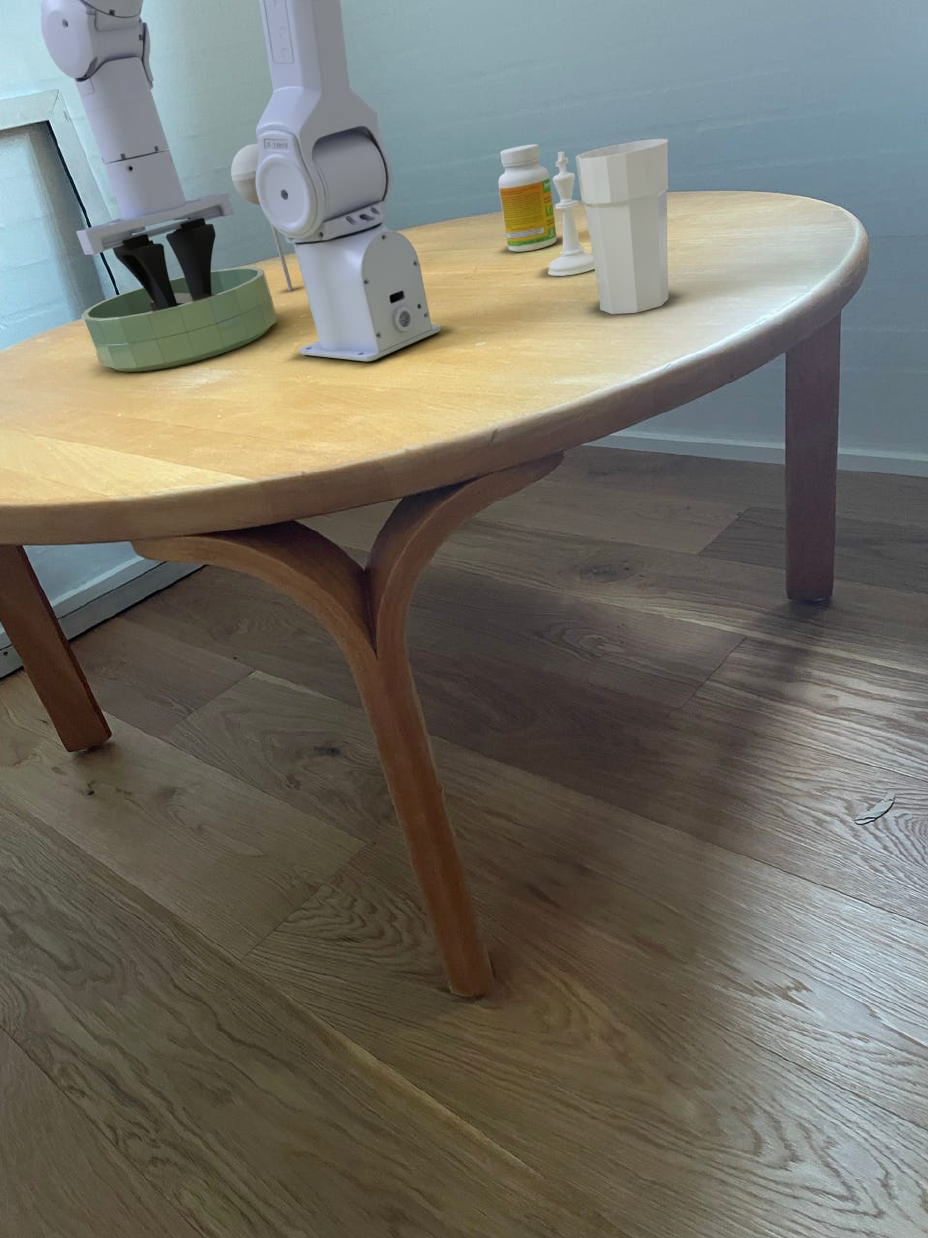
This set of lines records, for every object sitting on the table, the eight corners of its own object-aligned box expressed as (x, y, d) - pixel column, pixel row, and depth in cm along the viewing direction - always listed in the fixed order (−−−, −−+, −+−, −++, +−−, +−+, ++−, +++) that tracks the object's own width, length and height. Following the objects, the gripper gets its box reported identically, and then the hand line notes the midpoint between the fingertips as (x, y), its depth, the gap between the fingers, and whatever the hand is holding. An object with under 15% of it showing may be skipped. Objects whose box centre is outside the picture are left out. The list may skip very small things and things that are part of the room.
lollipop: (305, 293, 100) (265, 142, 93) (257, 300, 102) (213, 152, 94) (323, 279, 105) (287, 135, 98) (277, 286, 107) (237, 145, 99)
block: (229, 326, 85) (219, 293, 83) (202, 336, 83) (191, 303, 82) (186, 323, 90) (175, 292, 89) (160, 332, 89) (148, 301, 87)
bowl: (312, 320, 88) (298, 266, 85) (156, 381, 78) (135, 323, 76) (219, 314, 99) (204, 266, 96) (73, 367, 90) (52, 315, 87)
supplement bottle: (559, 245, 97) (546, 144, 92) (508, 255, 97) (493, 155, 92) (555, 237, 101) (543, 140, 96) (507, 246, 102) (493, 150, 97)
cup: (640, 319, 67) (626, 154, 62) (574, 314, 72) (556, 161, 66) (695, 293, 71) (687, 135, 65) (629, 290, 75) (616, 142, 70)
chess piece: (609, 260, 86) (597, 143, 81) (586, 274, 83) (573, 153, 78) (563, 263, 89) (549, 150, 84) (539, 277, 86) (523, 160, 80)
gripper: (185, 144, 86) (230, 292, 93) (40, 177, 78) (101, 336, 85) (224, 136, 81) (269, 293, 88) (74, 172, 73) (136, 340, 80)
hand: (189, 314), depth 86 cm, fingers closed on block, 3 cm apart
